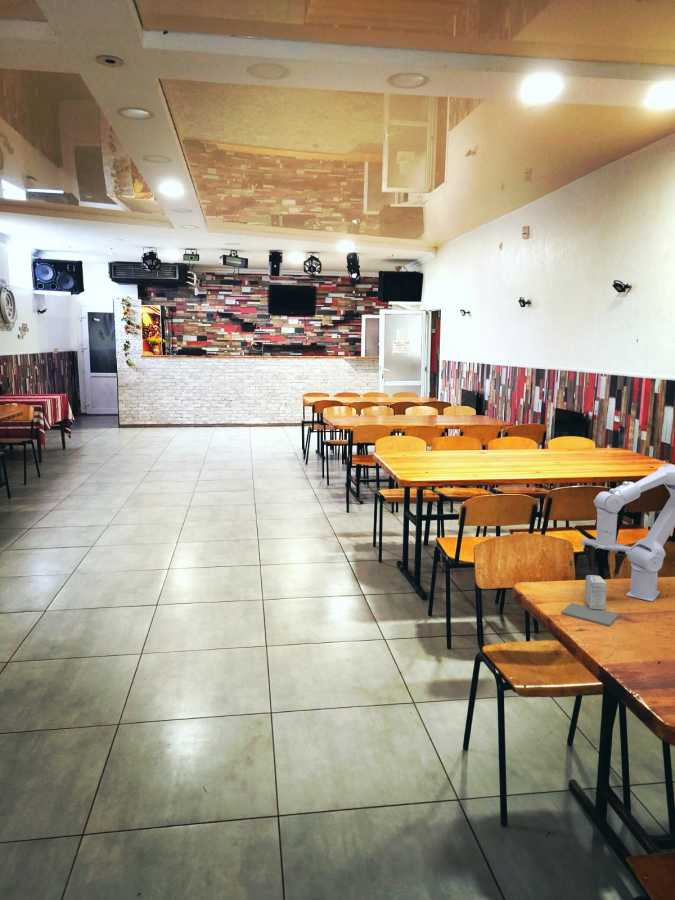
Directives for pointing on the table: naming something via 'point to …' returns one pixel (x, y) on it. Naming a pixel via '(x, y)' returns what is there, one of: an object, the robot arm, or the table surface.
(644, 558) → the robot arm
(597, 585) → the medicine box
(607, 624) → the mat
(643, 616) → the table surface
